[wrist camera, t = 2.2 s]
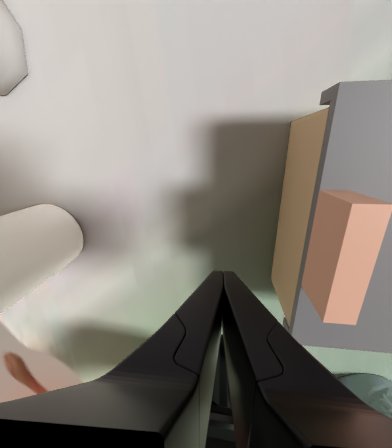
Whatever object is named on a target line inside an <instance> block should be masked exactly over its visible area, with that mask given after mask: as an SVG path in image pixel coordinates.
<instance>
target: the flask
mask: <svg viewBox="0 0 392 448" xmlns="http://www.w3.org/2000/svg"><path fill="white" fill-rule="evenodd" d="M27 74H28V69H27V62H26V55H25V48H24V41H23V34H22V28H21V27H20V25H19V24H18V22H17V21H16V19H15V18H14V16H13V15H12V13H11V12H10V10H9V9H8V7H7V6H6V4H5V3H4V1H3V0H0V95H7V94H8V93H9V92H10V91H11V90H12V89H13V88H14V87H15V86H16V85H17V84H18V83H19V82H20V81H21V80H22V79H23V78H24V77H25V76H26V75H27Z"/></svg>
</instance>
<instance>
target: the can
mask: <svg viewBox="0 0 392 448" xmlns="http://www.w3.org/2000/svg"><path fill="white" fill-rule="evenodd" d="M82 248H83V234H82V230H81V228H80V226H79V224H78V222H77V221H76V220H75V218H74V217H73V216H72V215H71V214H69V213H68V212H67V211H65V210H63V209H62V208H60V207H57V206H55V205H50V204H40V205H36V206H32V207H29V208H25V209H22V210H18V211H15V212H12V213H8V214H5V215H2V216H0V315H1V314H2V313H3V312H5V311H6V310H7V309H9V308H10V307H11V306H13V305H14V304H15V303H17V302H18V301H19V300H21V299H22V298H23V297H25V296H26V295H27V294H29V293H30V292H31V291H33V290H34V289H35V288H37V287H38V286H39V285H41V284H42V283H43V282H45V281H46V280H47V279H49V278H50V277H51V276H53V275H54V274H55V273H57V272H58V271H59V270H61V269H62V268H63V267H65V266H66V265H67V264H69V263H70V262H71V261H73V260H74V259H75V258H76V257H77V256H78V255H79V254H80V252H81V250H82Z"/></svg>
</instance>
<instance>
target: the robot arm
mask: <svg viewBox="0 0 392 448" xmlns="http://www.w3.org/2000/svg"><path fill="white" fill-rule="evenodd" d="M221 329H222V330H223V336H221ZM0 448H392V418H390V417H388V416H386V415H384V414H382V413H380V412H378V411H377V410H375V409H374V408H372V407H371V406H369V405H368V404H367V403H365V402H364V401H363V400H361V399H360V398H359V397H358V396H356V395H355V394H354V393H353V392H352V391H351V390H350V389H349V388H347V387H346V386H345V385H344V384H343V383H342V382H341V381H340V380H339V379H337V378H336V377H335V376H334V375H333V374H332V373H331V372H330V371H329V370H328V369H326V368H325V367H324V366H323V365H322V364H321V363H320V362H319V361H318V360H317V359H315V358H314V357H313V356H312V355H311V354H310V353H309V352H308V351H307V350H306V349H305V348H304V347H303V346H302V345H301V344H299V343H298V342H297V341H296V340H295V339H294V337H293V336H292V335H291V334H290V333H289V332H288V331H287V330H286V329H285V328H284V327H283V326H282V325H281V324H280V323H279V322H278V320H277V319H276V318H275V317H274V316H273V315H272V314H271V313H270V312H269V311H268V309H267V308H266V307H265V306H264V305H263V304H262V303H261V302H260V301H259V300H258V298H257V297H256V296H255V295H254V294H253V293H252V292H251V291H250V290H249V289H248V288H247V286H246V285H245V284H244V283H243V282H242V281H241V280H240V279H239V278H238V277H237V275H236V274H235V273H234V272H229V271H224V272H222V271H213V272H212V273H211V274H210V275H209V276H208V277H207V278H206V279H205V280H204V281H203V282H202V284H201V285H200V286H199V287H198V288H197V289H196V290H195V291H194V292H193V293H192V294H191V296H190V297H189V298H188V299H187V300H186V301H185V302H184V303H183V304H182V305H181V307H180V308H179V309H178V310H177V311H176V312H175V314H173V315H172V316H171V317H170V318H169V319H168V321H167V322H166V323H165V324H164V325H163V326H162V327H161V328H160V329H159V330H158V331H156V332H155V333H154V334H153V335H152V336H151V337H150V338H149V339H148V340H146V341H145V342H144V343H143V344H142V345H141V346H139V347H138V348H137V349H136V350H135V351H134V352H132V353H131V354H130V355H129V356H128V357H127V358H125V359H124V360H123V361H122V362H121V363H119V364H118V365H117V366H116V367H115V368H113V369H112V370H111V371H109V372H108V373H106V374H105V375H103V376H101V377H100V378H98V379H95V380H93V381H90V382H86V383H82V384H78V385H74V386H70V387H66V388H62V389H57V390H53V391H49V392H45V393H41V394H37V395H33V396H29V397H25V398H21V399H17V400H12V401H8V402H3V403H0Z"/></svg>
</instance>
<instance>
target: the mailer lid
mask: <svg viewBox="0 0 392 448" xmlns="http://www.w3.org/2000/svg"><path fill="white" fill-rule="evenodd" d="M320 105H330V107H329V113H328V118H327V124H326V129H325V135H324V140H323V146H322V151H321V157H320V162H319V168H318V173H317V179H316V184H315V190H314V195H313V200H312V206H311V211H310V217H309V222H308V228H307V233H306V239H305V244H304V250H303V255H302V261H301V266H300V272H299V277H298V283H297V288H296V294H295V299H294V305H293V310H292V315H291V321H290V326H289V325H288V323H287V320H286V318H284V320H283V325H284V328H285V329H286V330H287V331H288V332H289V333H290V334H291V335H292V336H293V337H294V339H295V340H296V341H297V342H298V343H299V344H301V345H306V346H317V347H329V348H340V349H351V350H362V351H373V352H384V353H392V80H377V81H352V82H339V83H337V84H336V85H334V86H332V87H330V88H329V89H327V90H325V91H323V92H322V94H321V100H320Z"/></svg>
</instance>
